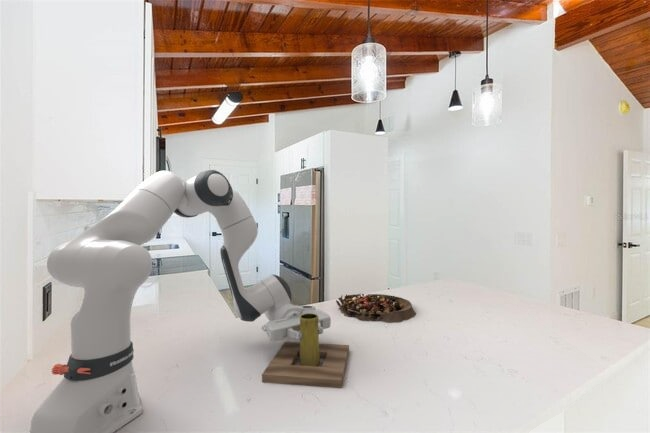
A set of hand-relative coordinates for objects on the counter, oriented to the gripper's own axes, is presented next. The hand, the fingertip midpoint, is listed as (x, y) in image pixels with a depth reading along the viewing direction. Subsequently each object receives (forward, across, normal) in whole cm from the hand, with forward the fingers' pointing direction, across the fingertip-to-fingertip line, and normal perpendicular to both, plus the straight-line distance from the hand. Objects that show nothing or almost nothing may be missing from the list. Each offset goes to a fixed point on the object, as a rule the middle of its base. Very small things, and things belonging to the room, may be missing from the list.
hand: (310, 333), depth 92 cm
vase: (-1, 0, +10) cm, 10 cm away
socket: (-1, 0, +9) cm, 9 cm away
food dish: (-30, +48, +10) cm, 57 cm away
